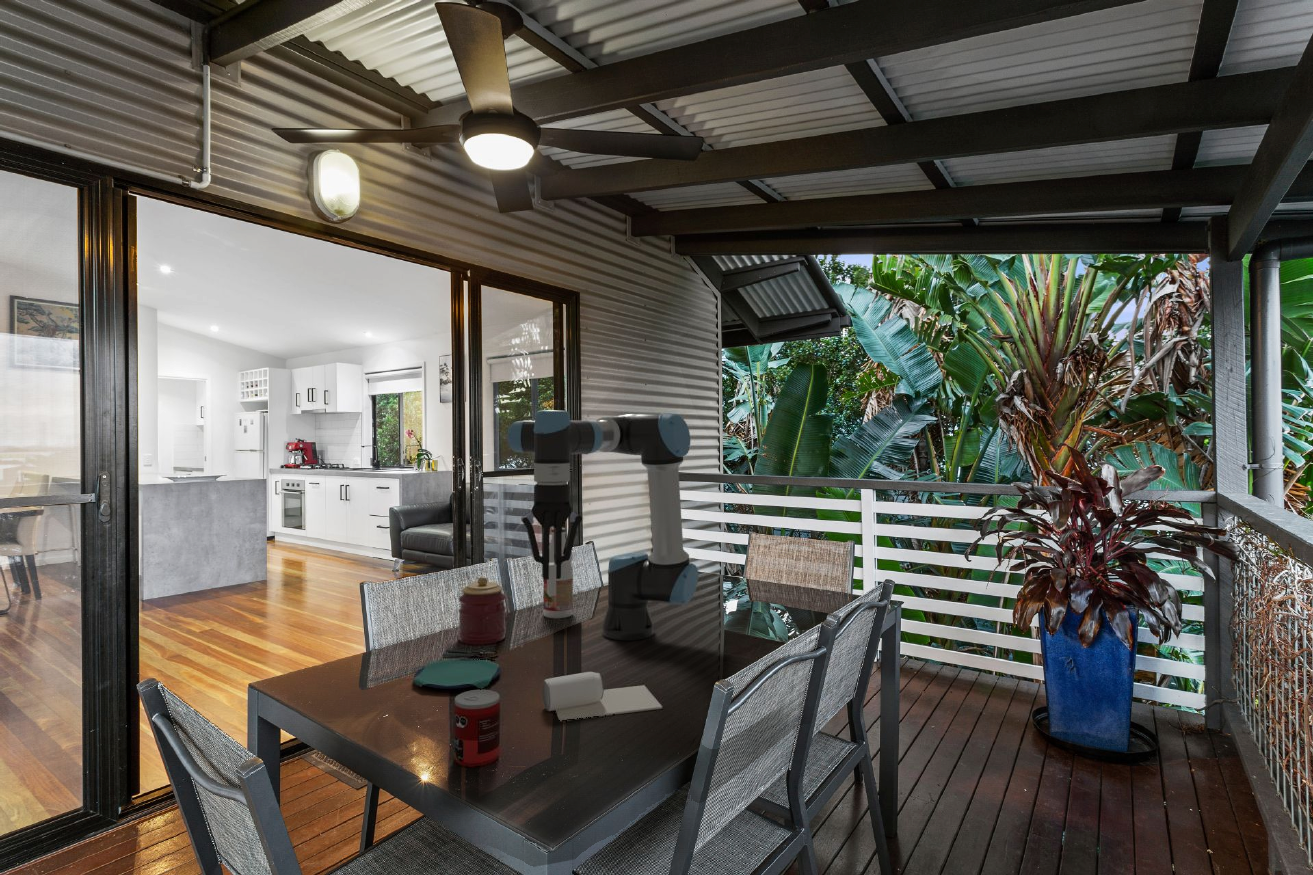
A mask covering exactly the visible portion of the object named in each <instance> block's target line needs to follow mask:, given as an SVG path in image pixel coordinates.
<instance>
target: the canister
mask: <svg viewBox="0 0 1313 875" xmlns="http://www.w3.org/2000/svg"><path fill="white" fill-rule="evenodd" d="M503 589H504V588H503V586H501V585H500V584H498V583H497V582H492V581H488V578H487V577H485V576H480V577H479V578H478V579H477V582H472V583H469V584H467V585H466V586H465V587H464V588H462V589H461V592H462V595H461V596H459V597H458V601H459V602H460V608H459V609H458V613H459V619H458V620H459V623H458V624H459V626H458V627H459V630H458V638H459V641H460V642H461V643H462V644H465V643H466V645H474V646H475V645H476V646H479V645H480V646H481V645H483V646H484V645H491V644H494V643H497V642H498V641H499V642H500V641H503V640H504V639H505V636H506V633H507V632H506V630H507V629H506V609H507V607H506V605H505V599H506V598H507V596H506V594H504V593H503V592H502V591H503ZM499 642H498V643H499Z"/></svg>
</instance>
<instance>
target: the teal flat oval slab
mask: <svg viewBox="0 0 1313 875" xmlns="http://www.w3.org/2000/svg"><path fill="white" fill-rule="evenodd" d="M485 650H486V649H484V648H482V649H480V648H479V649H478V650H477V649H476V650H473V649H472V650H463V649H462V650H461V649H460V650H459V649H450V648H446V649H445V652H442V655H441V656H442V657H458V658H457V659H460V660H453V659H454V658H446V659H447V660H440V661H439V660H438V661H434V662H433V661H432V662H430V663H429V662H428V663H427V664H426V665H425V666H423V667H421V668H420V669H418V670H417V671H415V674H414V676H413V677H414V678H413V682H414V684H415V685H416V686H419V687H420V688H423V687H429V688H434V689H441V690H442V689H443V690H453V689H458V690H459V689H465V688H472V687H476V688H477V689H479V688H482V687H485V686H487V687H488V686H489V685H490V682H491V681H493V680H495V679H496V678H498V677H499V675H501V667H500V664H498V663H496V662H494V661H489V660H487V659H488V658H485V659H486V660H480V659H481V658H479V657H481V656H479V657H478V658H468V657H471V656H474V655H476V656H478V654H479V653H478V652H483V654H493V653H485V652H489V651H490V650H487V651H485ZM446 652H477V653H478V654H474V655H473V654H469V653H446ZM473 659H474V660H473ZM476 659H477V660H476ZM478 659H479V660H478ZM422 685H424V686H423V687H422Z"/></svg>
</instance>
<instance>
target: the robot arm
mask: <svg viewBox="0 0 1313 875" xmlns="http://www.w3.org/2000/svg"><path fill="white" fill-rule="evenodd" d="M570 414H571V413H570V412H569V411H567V410H538V411H537V412H536V413H535V415H534V420H526V419H525V420H519V421H518V420H517V421H514V422H512V424H510V426H509V428H508V430H507V434H506V435H507V443H508V446H509V448H510V449H511V450H512V451H514V452H515V453H523V454H534V460H533V469H534V471H533V481H534V482H535V483H536V484H535V485H534V486H533V504H532V505H533V506H532V508H531V512H529V513H528V514H526V515H522V516H521V518H520V520H521V522H522V524H523V525H524V526H525V529H526V534H527V537H528V540H529V545H530V546H529V547H530V550H531V554H532V558H533V560H534V561H535V562H536V563H540V564H541V565H542V566H541V567H542V568H541V577H542V579H544V580H547V594H548V595H549V596H556V579H560V578H561V564H562V562H564V561H568V560H569V559H570V556H571V552H572V553H573V546H574V542H575V538H576V534H577V532H578V531H577V530H578V527H579V526H580V523H581V522H582V520H583V516H581V514H577V513H575V512H574V511H573V508H572V506H571V501H570V500H571V499H570V498H571V495H570V494H571V491H570V490H571V487H570V485H569V482H570V480H571V469H570V467H571V464H570V463H571V462H570V461H571V455H589V454H593V453H595V452H597V451H599V452H602V453H616V454H622V455H628V456H629V455H630V456H632V455H633V456H640V459H641V465H642V466H643V467H645V468H646V470H647V483H648V498H649V511H650V513H649V514H650V526H651V527H650V528H651V541H652V542H651V543H652V552H651V553H650V554H648V553H646V552H634V553H631V552H630V553H625V554H620V555H615V556H613V557H611V558H610V559H609V561H608V567H607V568H608V570H607V577H608V580H607V582H608V583H607V587H608V588H607V589H608V590H607V592H608V594H607V596H608V597H607V600H608V601H607V604H608V605H607V609H606V612H605V615H604V616H605V617H604V619H603V623H602V626H601V635H602V636H603V637H605V638H608V639H610V640H616V641H617V640H618V641H638V640H644V639H647V638H650V637H652V636H653V635H654V627H655V626H654V622H653V620H652V616H651V613H650V610H649V601H650V602H655V603H661V604H668V605H670V606H671V605H672V606H673V605H680V606H682V605H683V606H684V605H686V604H688V603H689V602H690V601H691V600H692V598H693V597H694V595H695V593H696V590H697V586H698V583H699V570H698V568H697V565H696V564H694V563H693V562H692V563H691V562H690V554H689V553H688V552H687V551H686V550H684V541H683V540H684V539H683V522H682V508H681V507H682V506H681V490H680V474H679V473H680V472H679V467H680V466H681V464H682V463H684V456H687V454H689V451H690V446H691V433H690V430H689V429H690V428H689V426H688V424H687V422H686V420H685V419H684V417H682V416H681V415H679V414H677V413H666V412H661V413H660V412H657V413H652V412H651V413H628V414H621V415H616V416H606V417H604V416H603V417H600V418H598V419H596V420H587V419H585V420H571V415H570ZM534 518H535V519H536V521H537V522H538V524H539V525H540V526H541V554H540V550H539V545H538V542H537V541H538V540H537V538H536V533H535V530H534V529H535V528H534V527H533V524H534V522H535V521H534ZM568 519H569V522H570V523H569V526H568V529H567V530H568V531H567V533H566V534H567V535H566V537H565V539H566V542H565V547H564V551H563V555H562V528H563V526H564V524H565V522H566V521H567V520H568ZM551 528H554V562H553V563H549V545H550V537H551V536H550V534H551Z"/></svg>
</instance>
